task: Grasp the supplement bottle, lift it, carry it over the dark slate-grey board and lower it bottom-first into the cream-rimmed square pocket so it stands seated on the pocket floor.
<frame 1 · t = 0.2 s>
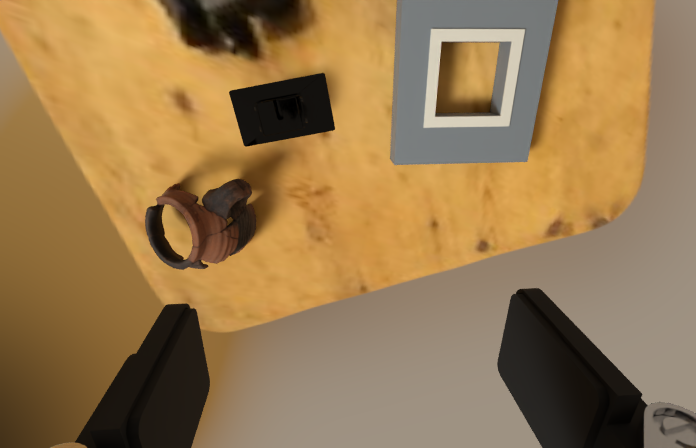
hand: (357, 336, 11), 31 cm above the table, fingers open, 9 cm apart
black stand: (283, 110, 39), on the table
pottery mug: (217, 207, 42), on the table
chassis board: (465, 57, 37), on the table
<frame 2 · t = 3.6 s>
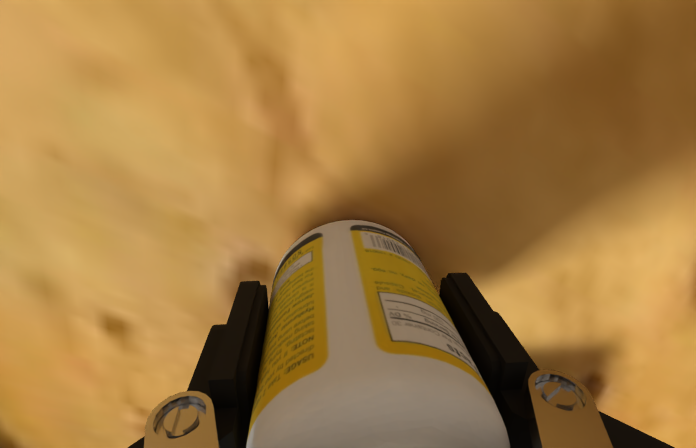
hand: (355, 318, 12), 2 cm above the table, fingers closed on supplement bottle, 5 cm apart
supplement bottle: (349, 280, 14), on the table, touching gripper
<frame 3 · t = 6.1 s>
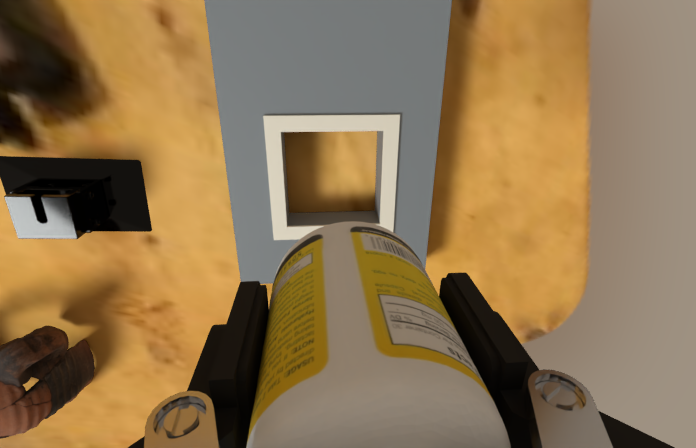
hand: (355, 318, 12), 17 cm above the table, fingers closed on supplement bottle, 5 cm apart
black stand: (83, 192, 28), on the table
pottery mug: (42, 344, 33), on the table
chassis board: (331, 143, 27), on the table
supplement bottle: (349, 282, 14), point 15 cm above the table, touching gripper
when the fingers open (4 cm above the table, at t = 8.4 s): supplement bottle drops 2 cm, resting in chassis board.
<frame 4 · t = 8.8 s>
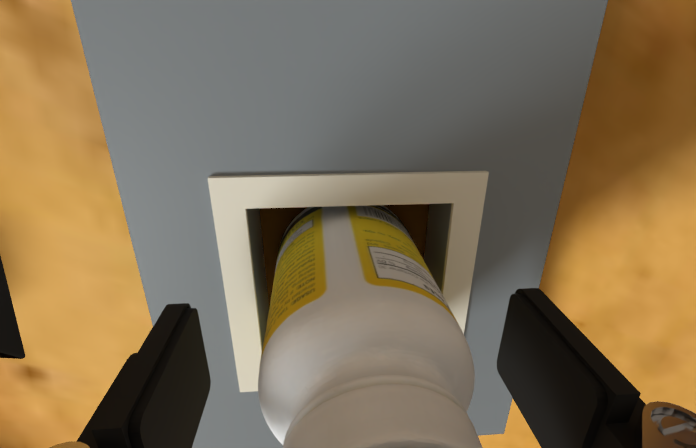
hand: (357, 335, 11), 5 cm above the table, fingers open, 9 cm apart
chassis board: (345, 213, 15), on the table
supplement bottle: (345, 252, 16), resting in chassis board
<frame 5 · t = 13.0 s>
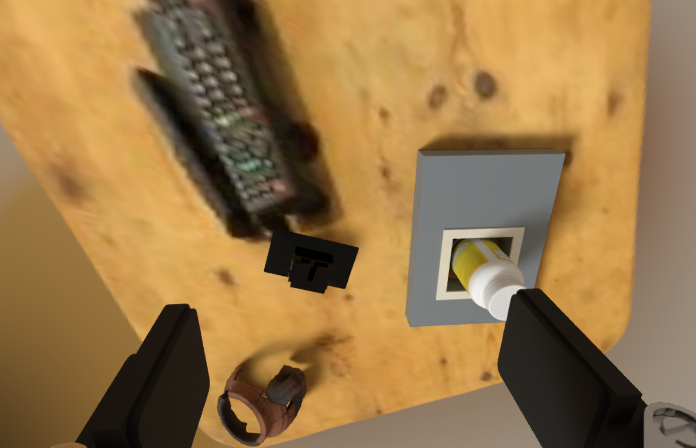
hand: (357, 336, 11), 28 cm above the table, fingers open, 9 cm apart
black stand: (311, 256, 43), on the table
pottery mug: (272, 376, 49), on the table
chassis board: (472, 238, 43), on the table
supplement bottle: (469, 251, 44), resting in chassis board
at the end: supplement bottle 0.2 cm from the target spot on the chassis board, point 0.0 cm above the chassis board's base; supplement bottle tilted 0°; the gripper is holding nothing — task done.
